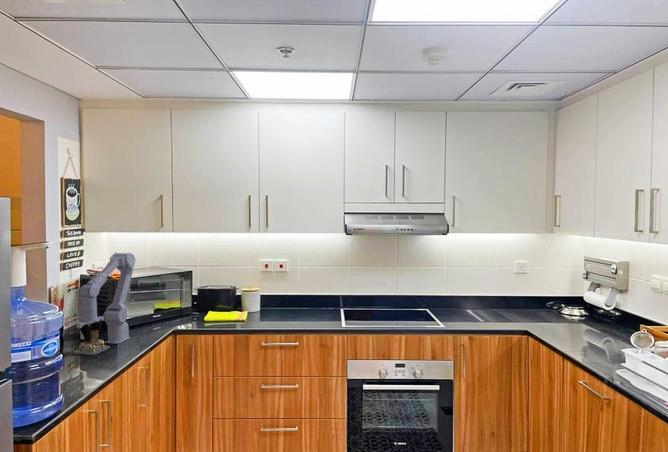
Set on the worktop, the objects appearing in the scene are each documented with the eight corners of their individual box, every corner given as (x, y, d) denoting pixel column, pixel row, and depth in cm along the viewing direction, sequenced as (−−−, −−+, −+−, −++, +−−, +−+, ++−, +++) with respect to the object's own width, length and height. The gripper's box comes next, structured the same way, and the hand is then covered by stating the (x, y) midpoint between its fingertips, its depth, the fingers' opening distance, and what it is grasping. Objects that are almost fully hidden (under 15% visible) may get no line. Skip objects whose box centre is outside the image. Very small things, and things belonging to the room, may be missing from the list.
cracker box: (82, 333, 239) (80, 294, 238) (95, 331, 241) (93, 293, 240) (79, 340, 226) (76, 299, 225) (92, 338, 228) (90, 297, 228)
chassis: (90, 347, 214) (89, 339, 213) (109, 347, 211) (109, 340, 211) (73, 353, 204) (73, 346, 204) (94, 354, 201) (93, 347, 201)
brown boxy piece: (90, 341, 212) (89, 328, 212) (106, 341, 210) (105, 329, 210) (77, 346, 204) (76, 333, 204) (93, 347, 202) (93, 333, 202)
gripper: (85, 314, 199) (86, 344, 199) (108, 307, 213) (110, 335, 213) (71, 314, 200) (73, 344, 201) (95, 307, 215) (97, 335, 215)
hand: (91, 339), depth 207 cm, fingers closed on brown boxy piece, 4 cm apart
